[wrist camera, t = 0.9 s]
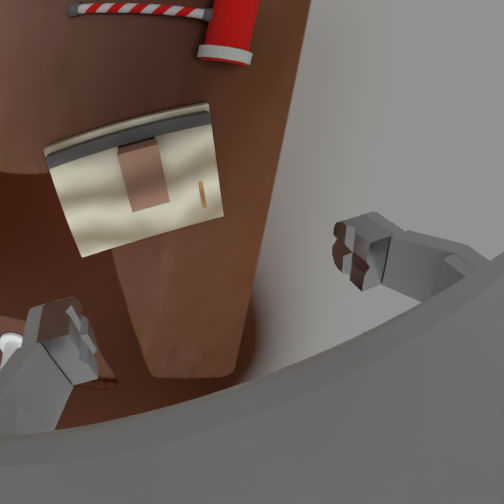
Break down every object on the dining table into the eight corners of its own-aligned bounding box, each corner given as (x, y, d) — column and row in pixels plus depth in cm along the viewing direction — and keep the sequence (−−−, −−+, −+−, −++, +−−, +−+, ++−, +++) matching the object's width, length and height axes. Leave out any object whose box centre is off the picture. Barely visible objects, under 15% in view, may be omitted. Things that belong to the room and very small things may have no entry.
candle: (15, 326, 42) (1, 458, 23) (39, 350, 46) (38, 476, 27) (-8, 339, 41) (-24, 462, 22) (16, 361, 45) (11, 480, 26)
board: (46, 145, 32) (39, 153, 29) (204, 102, 37) (213, 105, 34) (83, 250, 41) (81, 265, 38) (219, 210, 46) (228, 222, 43)
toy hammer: (62, 55, 27) (51, 52, 22) (81, -29, 21) (75, -45, 16) (239, 66, 36) (258, 67, 31) (256, -10, 31) (278, -20, 26)
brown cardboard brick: (118, 145, 34) (117, 155, 30) (153, 135, 35) (157, 144, 31) (130, 196, 38) (132, 212, 34) (164, 186, 39) (169, 201, 35)
